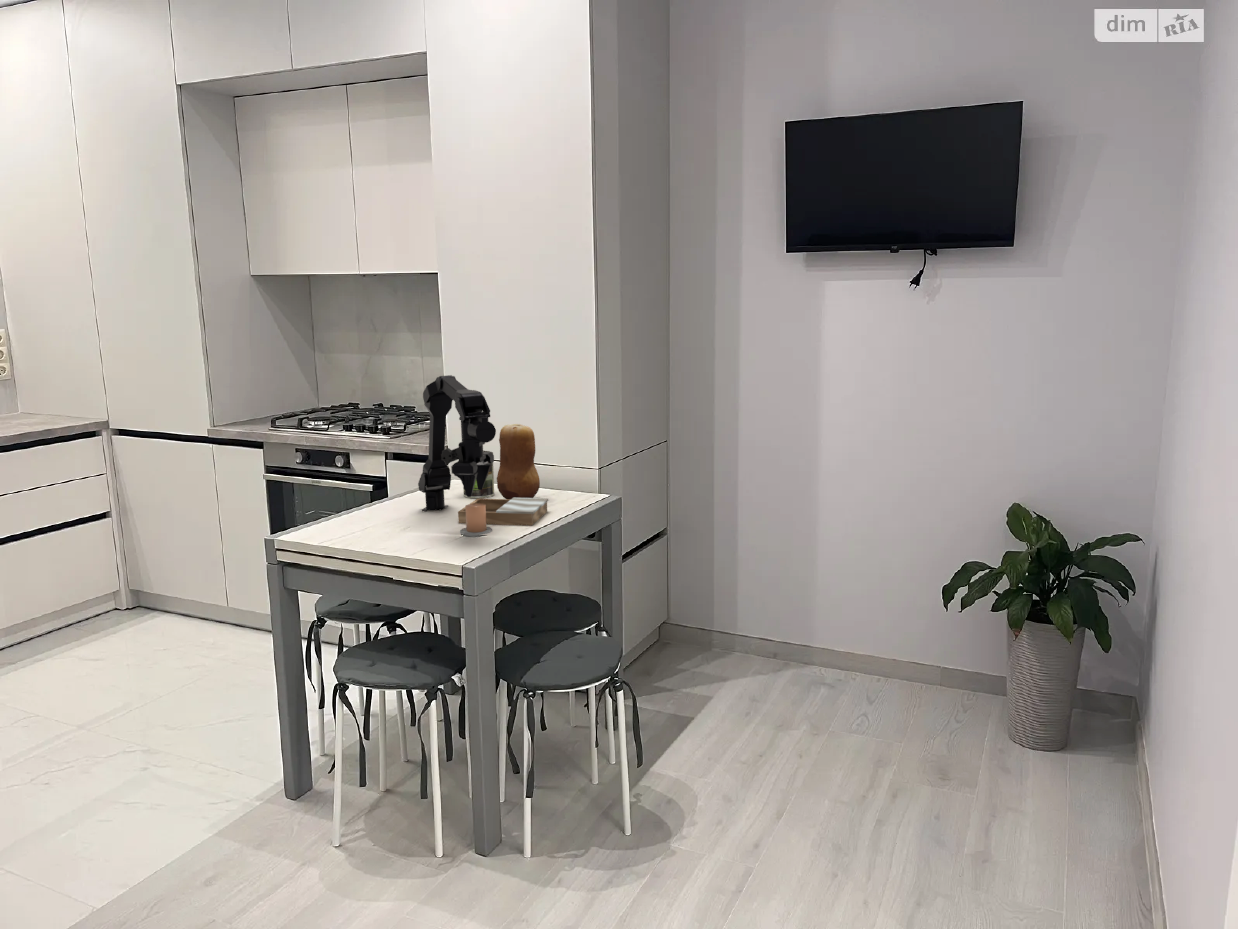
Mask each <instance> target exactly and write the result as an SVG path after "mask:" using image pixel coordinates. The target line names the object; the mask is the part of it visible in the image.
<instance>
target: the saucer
mask: <svg viewBox="0 0 1238 929" xmlns="http://www.w3.org/2000/svg"><path fill="white" fill-rule="evenodd" d="M491 532H493V528H492V527H491V526H487V530H486V531H483V532H475V533H474V532H467V529H466V527H464V528H461V529H460V531H459V533H460V536H462V535H463V537H468V538H479V537H486V536H488V535H487V534H490V533H491Z"/></svg>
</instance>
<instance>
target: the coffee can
mask: <svg viewBox="0 0 1238 929" xmlns="http://www.w3.org/2000/svg"><path fill="white" fill-rule="evenodd" d="M483 452H491V453H492V454H493V455H494V452H492V451H490V450H483ZM488 463H489V462H488ZM494 473H495V472H494V462H493V463H492V466H491V469H490V471H489V473H488V476H487V478H486V481H485V484H484V486H483V489H482V490H478V486H477V481H475V485H474V489H473V492H472V496H471V497H468V498H467V495H466V492H465V489H464V487H463V486H462V488H463V497H464V496H465V497H464V498H467V499H477V498H479V499H486V498H485V497H487V498H491V497H494V496H495V481H494V480H495V476H494ZM490 496H491V497H490Z"/></svg>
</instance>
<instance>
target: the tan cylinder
mask: <svg viewBox="0 0 1238 929" xmlns="http://www.w3.org/2000/svg"><path fill="white" fill-rule="evenodd" d="M464 507H465V509H466V524H465V525H466V526H465V528H466V529H467V532H474V533H475V532H483V531H486V530H487V527H488V526H487V525H488V524H486V505H485V504H481V503H474V504H470V503H469V504H465V506H464Z"/></svg>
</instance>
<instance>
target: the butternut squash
mask: <svg viewBox="0 0 1238 929" xmlns="http://www.w3.org/2000/svg"><path fill="white" fill-rule="evenodd" d="M498 441H499V468H498V471H497V476H496V484H497V485H496V487H497V490H498V492H499V494H501V497H503V499H512V498H535V496H536V495H537V493H538V492H539V490H540V486H541V485H540V476H539V473H538V470H537V468H536V466H535V455H536V438H535V433H534V431H533V429H532V428H531V427H529V426H527V425H523V424H520V423H513V424H505V425H504V426H502V428H501V429H500V432H499V438H498Z"/></svg>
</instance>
